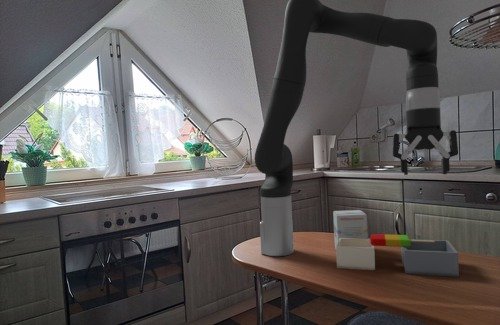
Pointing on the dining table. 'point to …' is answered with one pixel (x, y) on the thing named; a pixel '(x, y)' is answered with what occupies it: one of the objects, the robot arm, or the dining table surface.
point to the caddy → (430, 258)
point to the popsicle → (393, 240)
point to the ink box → (350, 225)
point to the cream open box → (355, 254)
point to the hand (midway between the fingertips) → (424, 174)
